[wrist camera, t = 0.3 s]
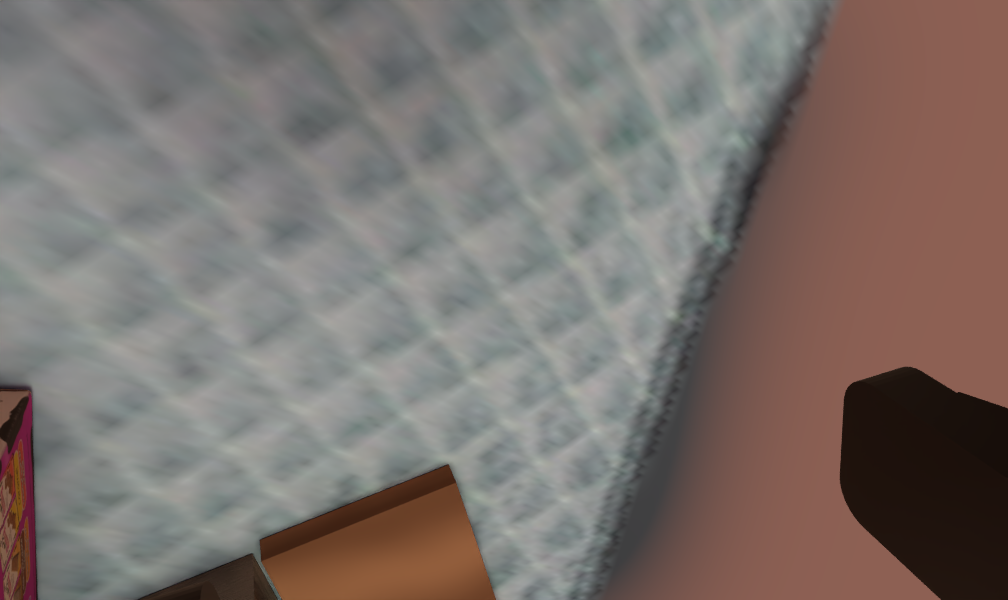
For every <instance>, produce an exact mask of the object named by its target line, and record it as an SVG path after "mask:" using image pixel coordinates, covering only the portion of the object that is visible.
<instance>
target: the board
mask: <svg viewBox="0 0 1008 600" xmlns="http://www.w3.org/2000/svg"><path fill="white" fill-rule="evenodd" d="M260 549H261V562H262V564H263V566H264V567H265V569H266V571H267V573H268V575H269V577H270V578H271V580H272V582H273V584H274V586H275V588H276V589H277V591H278V593H279V595H280V597H281V598H282V600H496V598H495V595H494V592H493V590H492V587H491V584H490V581H489V578H488V575H487V572H486V569H485V566H484V563H483V560H482V557H481V554H480V551H479V548H478V545H477V543H476V540H475V537H474V534H473V531H472V528H471V525H470V522H469V519H468V516H467V513H466V510H465V507H464V504H463V501H462V498H461V496H460V493H459V490H458V487H457V484H456V481H455V479H454V476H453V474H452V472H451V469H450V467H449V465H447V466H444V467H442V468H439V469H437V470H434V471H432V472H429V473H427V474H424V475H422V476H419V477H417V478H414V479H412V480H409V481H407V482H404V483H402V484H399V485H397V486H394V487H392V488H389V489H387V490H384V491H382V492H379V493H377V494H374V495H372V496H369V497H367V498H364V499H362V500H359V501H357V502H354V503H352V504H349V505H347V506H344V507H342V508H339V509H337V510H334V511H332V512H329V513H327V514H324V515H322V516H319V517H317V518H314V519H312V520H309V521H307V522H304V523H302V524H299V525H297V526H294V527H292V528H289V529H287V530H284V531H282V532H279V533H277V534H274V535H272V536H269V537H267V538H264V539H262V540H260Z"/></svg>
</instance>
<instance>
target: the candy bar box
mask: <svg viewBox="0 0 1008 600" xmlns="http://www.w3.org/2000/svg"><path fill="white" fill-rule="evenodd" d="M0 600H37V571H36V543H35V515H34V469H33V441H32V396H31V391H28V390H17V389H0Z"/></svg>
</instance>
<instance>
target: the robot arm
mask: <svg viewBox="0 0 1008 600" xmlns="http://www.w3.org/2000/svg"><path fill="white" fill-rule="evenodd" d="M843 409H844V410H843V427H842V445H841V463H840V484H841V489H842V493H843V495H844V499H845V501H846V503H847V505H848V507H849V509H850V511H851V512H852V514H853V515H854V517H855V518H856V519H857V521H858V522H859V523H860V524H861V525H862V526H863V527H864V528H865V529H866V530H867V531H868V532H869V533H870V534H871V535H872V536H873V537H875V538H876V539H877V540H878V541H879V542H880V543H881V544H882V545H883V546H884V547H885V548H886V549H887V550H889V552H891V553H892V554H893V555H894V556H895V557H896V558H897V559H898V560H899V561H900V562H901V563H902V564H904V565H905V566H906V567H907V568H908V569H909V570H910V571H911V572H912V573H913V574H914V575H915V576H916V577H918V579H919V580H921V581H922V582H923V583H924V584H925V585H926V586H927V587H928V588H929V589H930V590H931V591H932V592H933V593H935V594H936V595H937V596H938V597H939V598H940V599H941V600H1008V408H1005V407H1002V406H999V405H996V404H993V403H990V402H988V401H985V400H982V399H978V398H976V397H973V396H970V395H967V394H964V393H961V392H958V393H956V392H954V391H952V390H951V389H949V388H947V387H946V386H945V385H943V384H941V383H940V382H938V381H936V380H935V379H933V378H931V377H930V376H928V375H927V374H925V373H923V372H922V371H920V370H918V369H916V368H912V367H902V368H898V369H895V370H892V371H889V372H885V373H882V374H879V375H876V376H873V377H869V378H866V379H863V380H860V381H857V382H854V383H852V384H851V385H850V386H849V387H848V388H847V390H846V392H845V396H844V408H843ZM146 600H220V598H219V596H218V594H217V591H216V589H215V588H214V586H213V585H212V584H211V582H209V581H204V582H201V583H198V584H195V585H191V586H188V587H185V588H182V589H178V590H175V591H172V592H169V593H166V594H162V595H159V596H156V597H153V598H149V599H146Z"/></svg>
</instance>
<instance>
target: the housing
mask: <svg viewBox="0 0 1008 600" xmlns="http://www.w3.org/2000/svg"><path fill="white" fill-rule="evenodd" d="M204 581H209V582H211V584H212V585H213V586H214V588H215V589H216V591H217V594H218V596H219V598H220V600H278V599H277V598H276V596H275V594H274V592H273V590H272V588H271V587H270V585H269V583H268V581H267V579H266V578H265V576H264V574H263V572H262V570H261V569H260V567H259V565H258V563H257V561H256V559H255V558H254V556H253V554H251V555H248V556H246V557H243V558H241V559H238V560H236V561H233V562H231V563H228V564H226V565H223V566H221V567H218V568H216V569H213V570H211V571H208V572H206V573H203V574H201V575H198V576H196V577H193V578H191V579H188V580H186V581H183V582H181V583H178V584H176V585H173V586H171V587H168V588H166V589H163V590H161V591H159V592H156V593H154V594H151V595H149V596H146V597H144V598H141V599H139V600H146V599H149V598H153V597H156V596H159V595H162V594H166V593H169V592H172V591H175V590H178V589H182V588H185V587H188V586H191V585H195V584H198V583H201V582H204Z"/></svg>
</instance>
